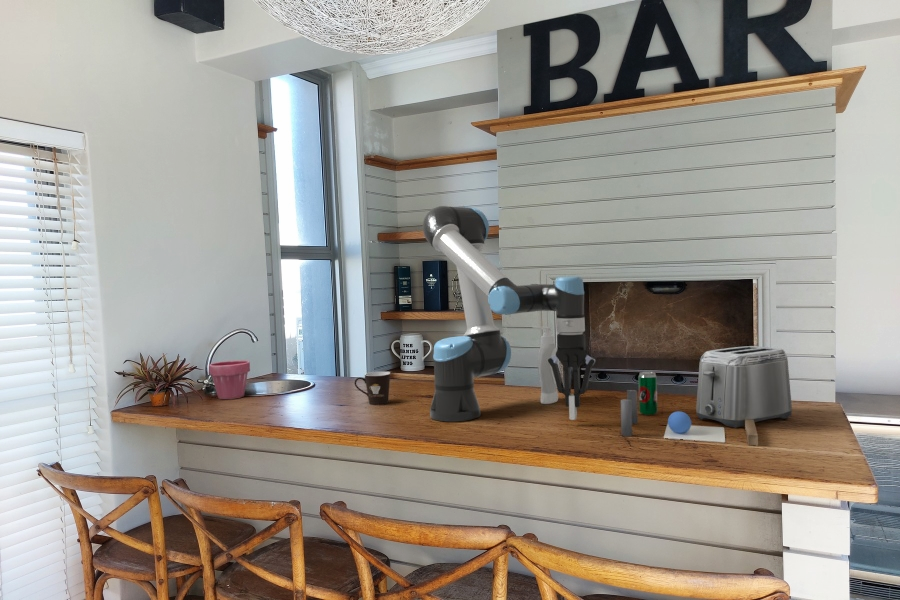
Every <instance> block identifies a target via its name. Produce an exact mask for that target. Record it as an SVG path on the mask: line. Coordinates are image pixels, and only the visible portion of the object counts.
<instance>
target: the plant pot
mask: <svg viewBox="0 0 900 600" xmlns="http://www.w3.org/2000/svg"><path fill="white" fill-rule="evenodd" d="M250 371H251V365H250V361H249V360H227V361H218V362H212V363H210V364H209V365H208V372H209V376H211V378H212V381H213V384H214V389H215V392H216V395H217V398H218V399H219V400H234V399H240V398H242V397H245V391H246V387H247V380H248V373H249V372H250Z"/></svg>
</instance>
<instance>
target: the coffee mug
mask: <svg viewBox="0 0 900 600" xmlns="http://www.w3.org/2000/svg"><path fill="white" fill-rule="evenodd" d="M358 380H361V381H363V382H364V384H365V386H366V391H367V392H366V391H364V390H363V389H361V388H360V387H359V386H358V384H357V381H358ZM390 381H391V372H390V371H371V372H366V373H364V377H357V378H356V379H355V380H354V387H355V388H356V389H357V390H358V391H359V392H361V393H363V394H364V395H366V396H367V398H368V403H369V404H368V405H371V406H382V405H386V404H389V398H390V397H389V394H390V383H391V382H390Z"/></svg>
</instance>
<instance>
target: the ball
mask: <svg viewBox="0 0 900 600" xmlns="http://www.w3.org/2000/svg"><path fill="white" fill-rule="evenodd" d="M667 424H668V425H669V427H670V429H671V430H672V431H673V432H675V433H679V434H682V433H685V432H687V431H688V430H689V429H690V427H691V425H692V419H691V417H690V416H689V415H688V414H687V413H686V412H683V411H681V410H680V411H678V410H677V411H674V412H672V413H671V414H670V415H669V417H668V420H667Z"/></svg>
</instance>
